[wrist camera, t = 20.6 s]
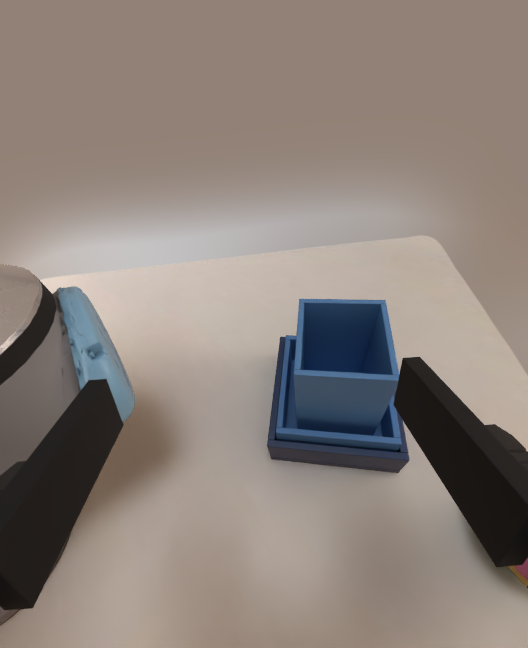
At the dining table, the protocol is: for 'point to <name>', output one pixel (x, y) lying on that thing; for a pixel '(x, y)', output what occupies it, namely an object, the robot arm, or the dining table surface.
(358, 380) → the lone bin
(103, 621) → the dining table surface
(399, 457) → the bin stack
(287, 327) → the dining table surface
